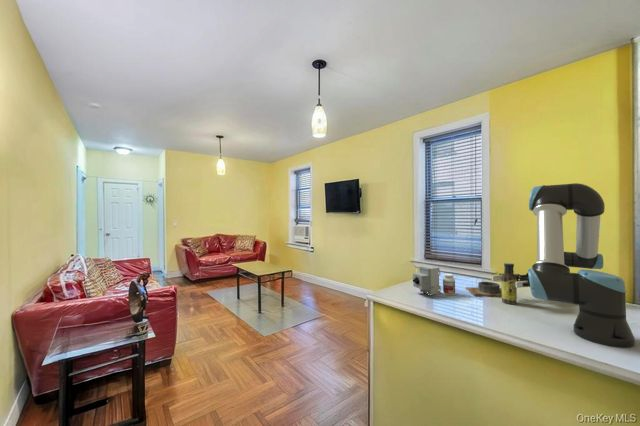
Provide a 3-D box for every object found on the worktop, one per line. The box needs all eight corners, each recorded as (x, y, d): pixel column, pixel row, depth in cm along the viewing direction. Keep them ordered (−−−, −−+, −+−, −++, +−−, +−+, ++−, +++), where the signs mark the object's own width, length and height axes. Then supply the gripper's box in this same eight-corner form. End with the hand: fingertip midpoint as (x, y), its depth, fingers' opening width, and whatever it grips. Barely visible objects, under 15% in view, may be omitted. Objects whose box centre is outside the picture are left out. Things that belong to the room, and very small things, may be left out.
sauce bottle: (511, 305, 131) (509, 264, 131) (498, 301, 137) (497, 262, 137) (520, 303, 133) (519, 263, 133) (507, 300, 139) (506, 261, 139)
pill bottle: (447, 291, 156) (447, 272, 156) (457, 294, 150) (457, 274, 150) (440, 293, 153) (440, 274, 153) (450, 296, 147) (450, 276, 147)
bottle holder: (502, 290, 157) (502, 281, 157) (515, 297, 143) (515, 287, 143) (465, 289, 160) (465, 280, 160) (474, 296, 146) (474, 286, 146)
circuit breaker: (411, 293, 154) (410, 267, 155) (431, 290, 159) (430, 265, 159) (419, 296, 147) (418, 269, 147) (440, 294, 152) (440, 267, 152)
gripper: (564, 292, 126) (527, 296, 122) (515, 280, 151) (483, 282, 146) (564, 276, 126) (527, 279, 122) (515, 266, 151) (483, 269, 147)
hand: (503, 281), depth 134 cm, fingers open, 13 cm apart
